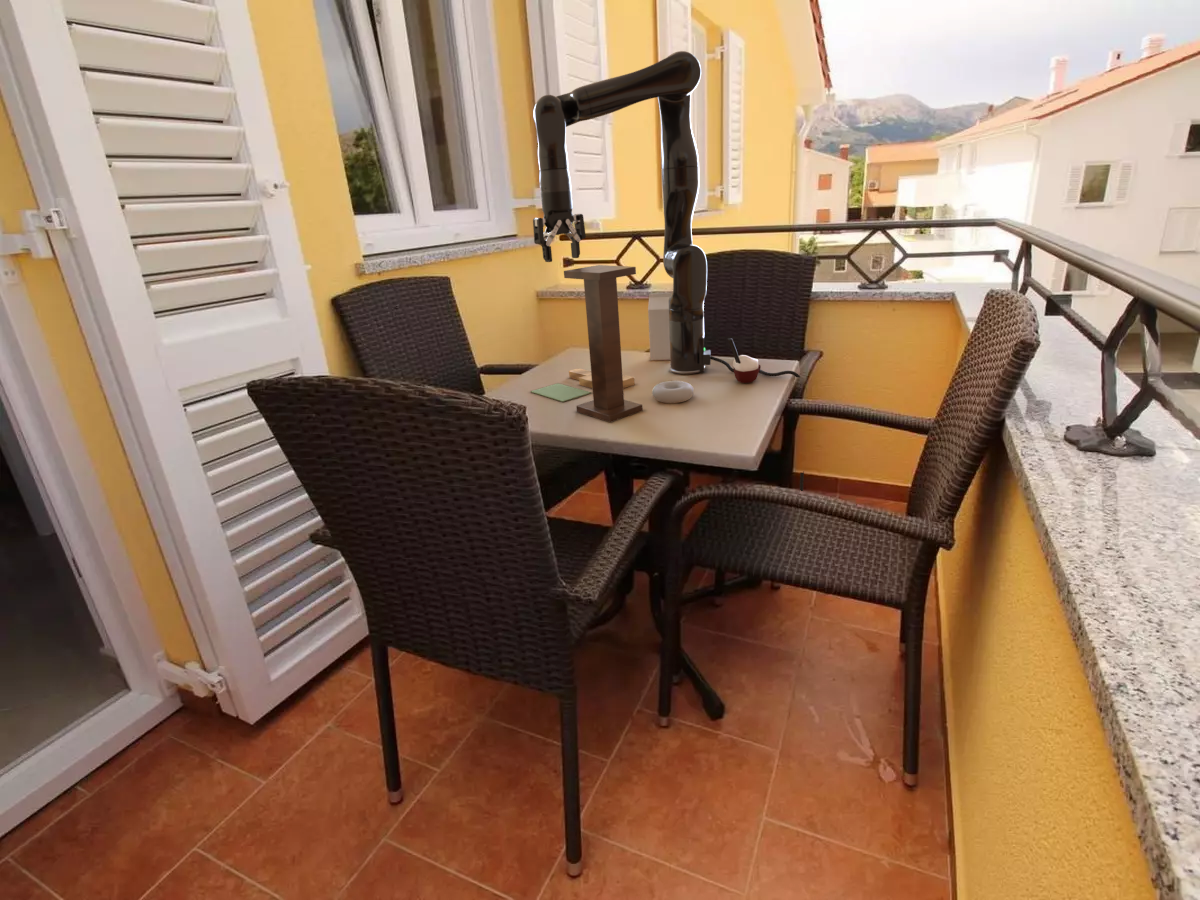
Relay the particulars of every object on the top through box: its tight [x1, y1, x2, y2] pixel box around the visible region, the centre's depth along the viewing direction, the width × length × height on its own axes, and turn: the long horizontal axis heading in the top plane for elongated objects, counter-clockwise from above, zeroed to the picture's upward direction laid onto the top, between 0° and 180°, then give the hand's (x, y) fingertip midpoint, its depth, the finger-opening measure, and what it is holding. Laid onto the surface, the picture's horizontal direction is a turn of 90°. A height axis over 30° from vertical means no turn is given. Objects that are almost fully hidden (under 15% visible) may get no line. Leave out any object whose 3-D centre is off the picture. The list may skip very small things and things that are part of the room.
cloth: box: [530, 382, 592, 403], centre depth 162 cm, size 14×9×1 cm, turn 40°
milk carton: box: [647, 292, 673, 361], centre depth 184 cm, size 7×7×19 cm
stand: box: [563, 264, 644, 423], centre depth 139 cm, size 12×10×32 cm
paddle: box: [568, 367, 635, 389], centre depth 168 cm, size 20×9×2 cm, turn 40°
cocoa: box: [727, 337, 762, 384], centre depth 157 cm, size 10×6×12 cm, turn 96°
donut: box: [651, 380, 695, 404], centre depth 150 cm, size 10×4×10 cm
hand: (562, 259), depth 157 cm, fingers open, 8 cm apart
